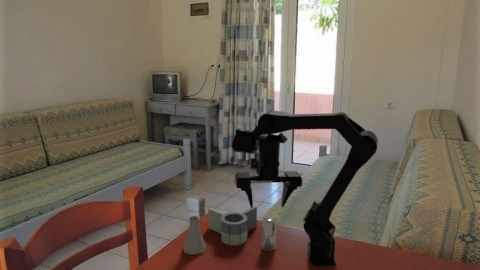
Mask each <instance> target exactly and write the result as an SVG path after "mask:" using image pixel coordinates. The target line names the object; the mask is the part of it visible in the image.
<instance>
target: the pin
mask: <svg viewBox="0 0 480 270" xmlns="http://www.w3.org/2000/svg"><path fill="white" fill-rule="evenodd" d="M261 225H262V226H261V248H262V250H264V251H265V252H272V251H274V250H276V244H277V243H276V239H277V238H276V236H277V235H276V234H277V219H276V218H275V217H272V216H265V217H263V218H262V220H261Z"/></svg>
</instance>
